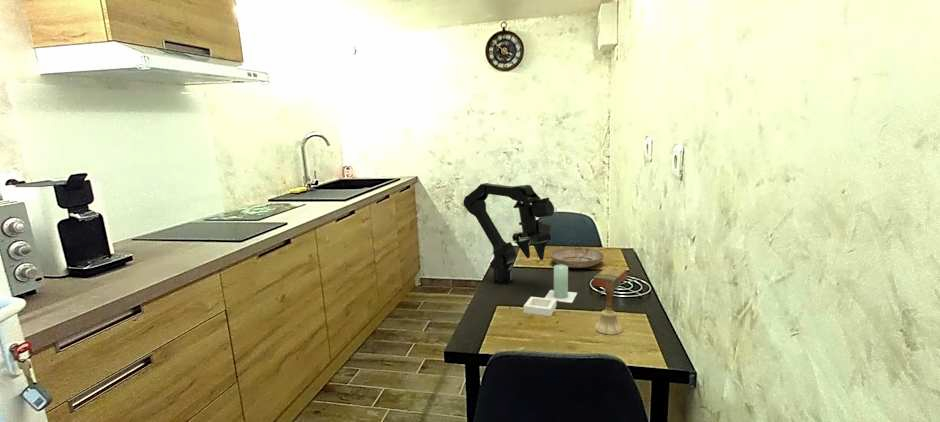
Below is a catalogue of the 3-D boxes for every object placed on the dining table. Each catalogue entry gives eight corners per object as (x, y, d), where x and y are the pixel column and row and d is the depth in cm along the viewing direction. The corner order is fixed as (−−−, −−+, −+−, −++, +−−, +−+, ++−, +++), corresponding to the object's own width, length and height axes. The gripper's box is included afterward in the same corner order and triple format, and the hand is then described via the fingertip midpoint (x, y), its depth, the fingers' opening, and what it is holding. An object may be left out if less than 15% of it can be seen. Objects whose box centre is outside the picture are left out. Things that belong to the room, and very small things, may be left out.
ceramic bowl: (610, 260, 213) (610, 250, 212) (593, 275, 194) (594, 263, 193) (561, 254, 226) (561, 244, 225) (541, 267, 206) (541, 256, 205)
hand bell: (603, 321, 150) (604, 273, 147) (627, 328, 144) (629, 278, 141) (589, 329, 144) (589, 279, 141) (613, 337, 138) (615, 285, 135)
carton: (626, 278, 189) (627, 268, 188) (613, 291, 176) (614, 280, 176) (606, 275, 194) (606, 265, 193) (592, 287, 181) (592, 276, 180)
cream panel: (543, 301, 167) (543, 299, 167) (550, 291, 176) (550, 289, 176) (572, 304, 164) (572, 302, 163) (577, 294, 173) (577, 292, 172)
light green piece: (555, 298, 167) (555, 269, 165) (552, 293, 172) (552, 264, 170) (569, 298, 168) (569, 268, 166) (565, 293, 172) (565, 264, 171)
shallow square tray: (523, 314, 157) (523, 306, 156) (530, 304, 165) (530, 296, 164) (550, 317, 153) (550, 309, 153) (556, 307, 161) (556, 299, 161)
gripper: (560, 214, 172) (567, 255, 173) (532, 214, 189) (538, 252, 190) (534, 220, 167) (541, 262, 168) (508, 220, 184) (515, 259, 185)
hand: (534, 258), depth 178 cm, fingers open, 9 cm apart
